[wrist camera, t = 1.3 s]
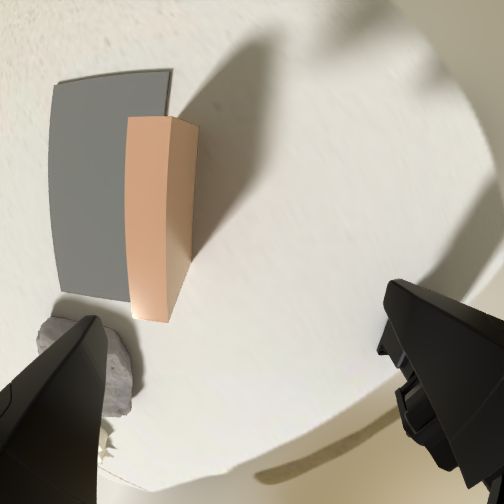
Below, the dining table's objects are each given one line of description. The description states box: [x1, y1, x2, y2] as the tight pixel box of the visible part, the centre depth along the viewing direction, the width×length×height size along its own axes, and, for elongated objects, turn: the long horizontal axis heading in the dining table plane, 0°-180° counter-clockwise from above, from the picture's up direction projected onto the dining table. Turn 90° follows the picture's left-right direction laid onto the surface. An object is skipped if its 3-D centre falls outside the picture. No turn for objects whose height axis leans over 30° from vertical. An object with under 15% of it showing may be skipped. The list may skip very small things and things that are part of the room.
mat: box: [48, 71, 170, 302], centre depth 19 cm, size 10×18×1 cm, turn 174°
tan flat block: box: [125, 116, 199, 323], centre depth 16 cm, size 2×10×8 cm, turn 174°
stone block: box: [36, 317, 133, 417], centre depth 24 cm, size 12×5×10 cm
